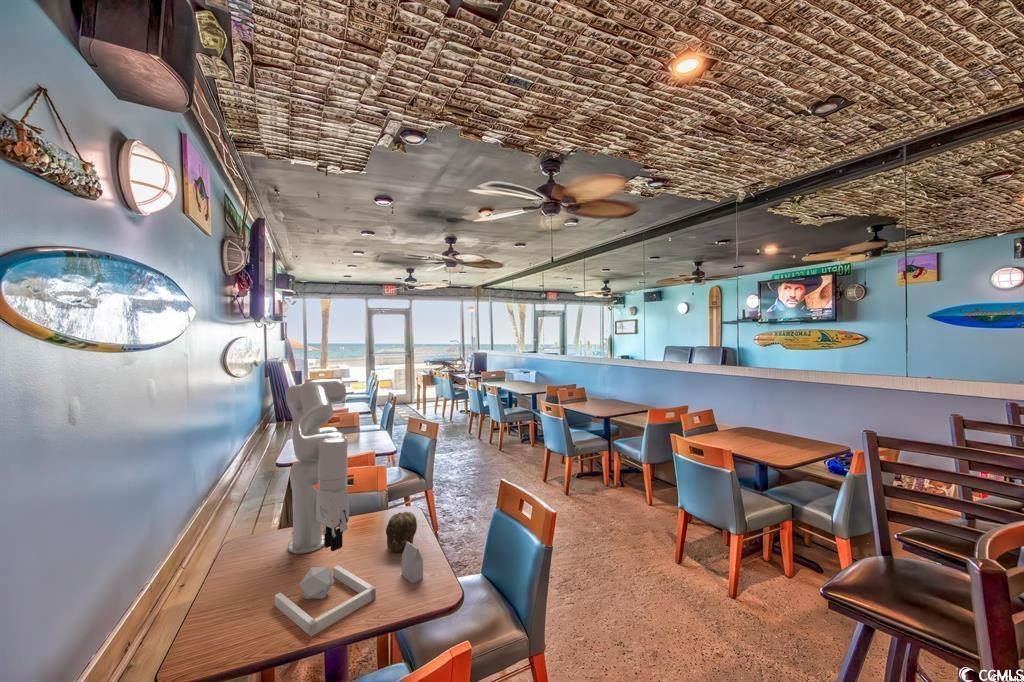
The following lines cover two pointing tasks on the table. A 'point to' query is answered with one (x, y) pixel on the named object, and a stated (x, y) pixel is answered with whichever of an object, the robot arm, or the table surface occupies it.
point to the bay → (334, 614)
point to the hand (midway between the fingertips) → (333, 546)
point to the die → (317, 583)
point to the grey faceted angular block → (412, 563)
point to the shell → (400, 531)
